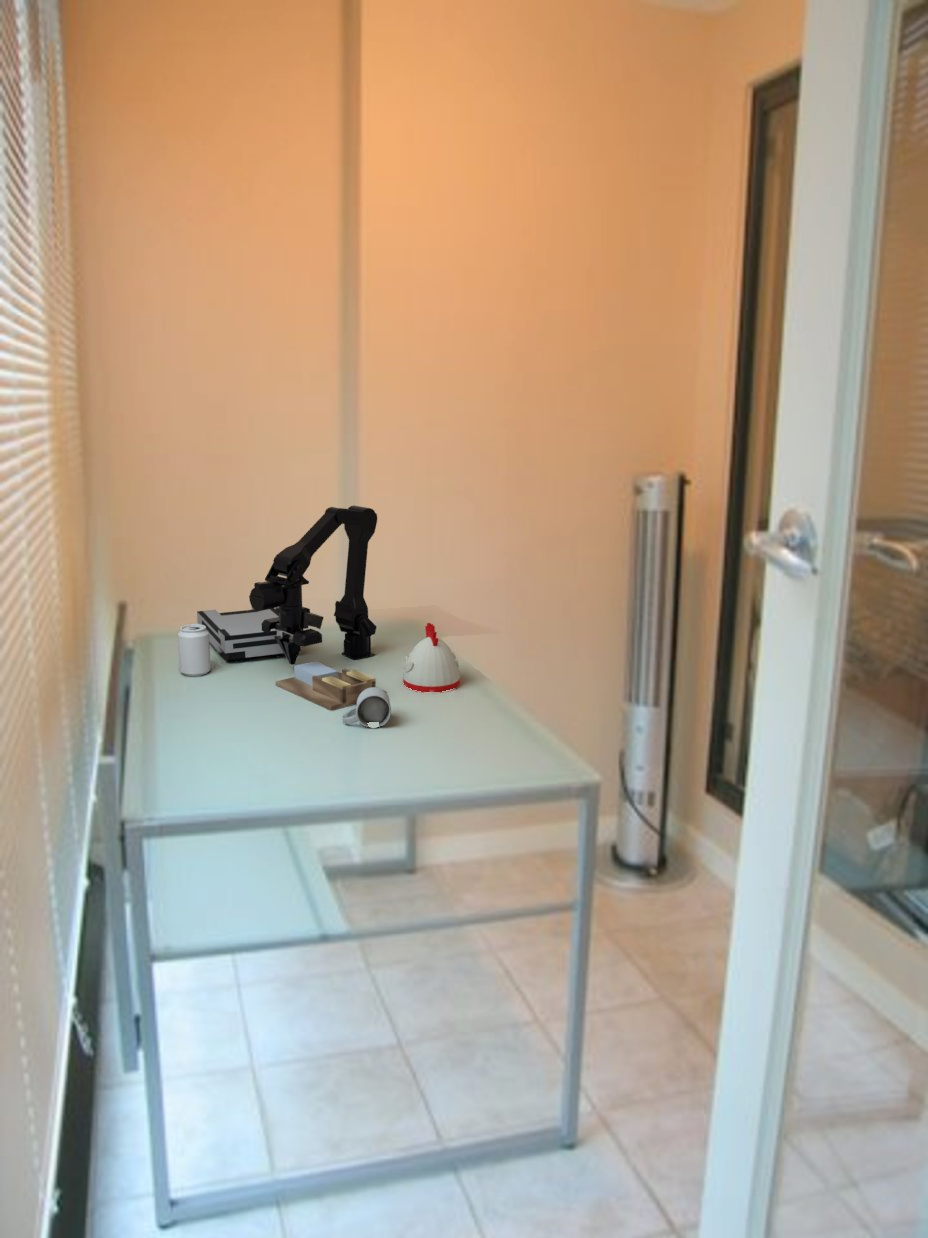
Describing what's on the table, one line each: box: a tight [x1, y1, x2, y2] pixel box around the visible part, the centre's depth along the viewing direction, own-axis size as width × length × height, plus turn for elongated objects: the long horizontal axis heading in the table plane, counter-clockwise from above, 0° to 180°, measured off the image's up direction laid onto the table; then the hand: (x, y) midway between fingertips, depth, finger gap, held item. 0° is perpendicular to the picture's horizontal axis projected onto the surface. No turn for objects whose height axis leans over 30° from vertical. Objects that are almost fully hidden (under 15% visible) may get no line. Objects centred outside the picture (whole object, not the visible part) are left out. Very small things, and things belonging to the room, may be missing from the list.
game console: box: [196, 606, 305, 664], centre depth 285 cm, size 21×32×8 cm, turn 26°
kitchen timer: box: [402, 622, 461, 693], centre depth 255 cm, size 14×14×15 cm
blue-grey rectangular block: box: [293, 661, 339, 686], centre depth 254 cm, size 6×10×3 cm, turn 40°
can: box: [177, 623, 212, 677], centre depth 261 cm, size 8×8×12 cm
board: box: [275, 668, 388, 712], centre depth 250 cm, size 16×23×5 cm
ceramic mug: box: [341, 686, 392, 728], centre depth 230 cm, size 11×8×8 cm
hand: (292, 664), depth 262 cm, fingers closed
